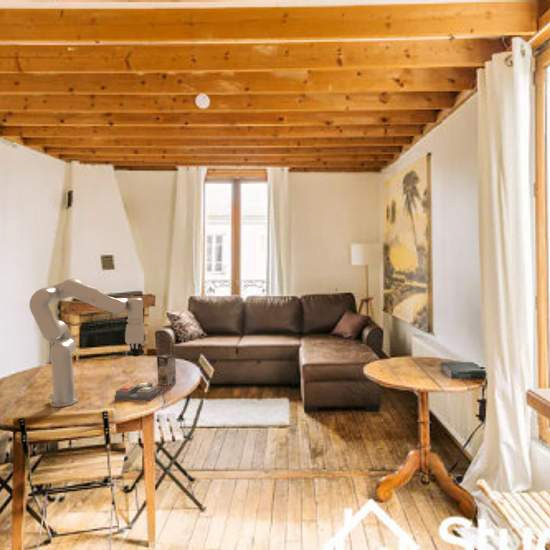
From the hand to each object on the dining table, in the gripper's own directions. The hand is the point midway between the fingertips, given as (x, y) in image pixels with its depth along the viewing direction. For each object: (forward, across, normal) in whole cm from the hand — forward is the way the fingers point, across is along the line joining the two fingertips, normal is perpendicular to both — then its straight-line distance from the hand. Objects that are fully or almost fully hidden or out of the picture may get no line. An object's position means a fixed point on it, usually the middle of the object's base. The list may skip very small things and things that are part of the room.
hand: (136, 355), depth 210 cm
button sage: (+18, +8, -4) cm, 20 cm away
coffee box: (+21, +6, +20) cm, 29 cm away
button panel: (+21, +2, -1) cm, 21 cm away
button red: (+18, -4, -4) cm, 19 cm away
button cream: (+18, +2, +3) cm, 18 cm away
